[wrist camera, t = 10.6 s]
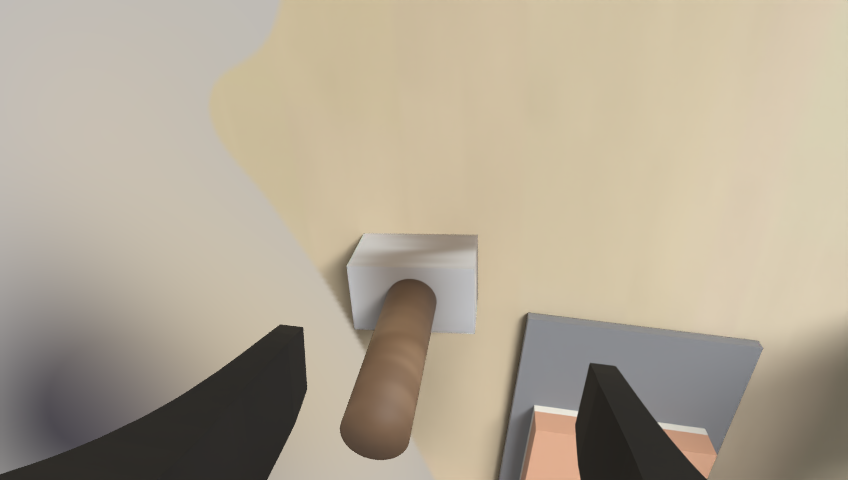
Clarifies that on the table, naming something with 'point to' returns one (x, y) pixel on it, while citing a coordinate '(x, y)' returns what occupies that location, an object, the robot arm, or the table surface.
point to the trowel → (403, 327)
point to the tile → (557, 454)
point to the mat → (628, 375)
